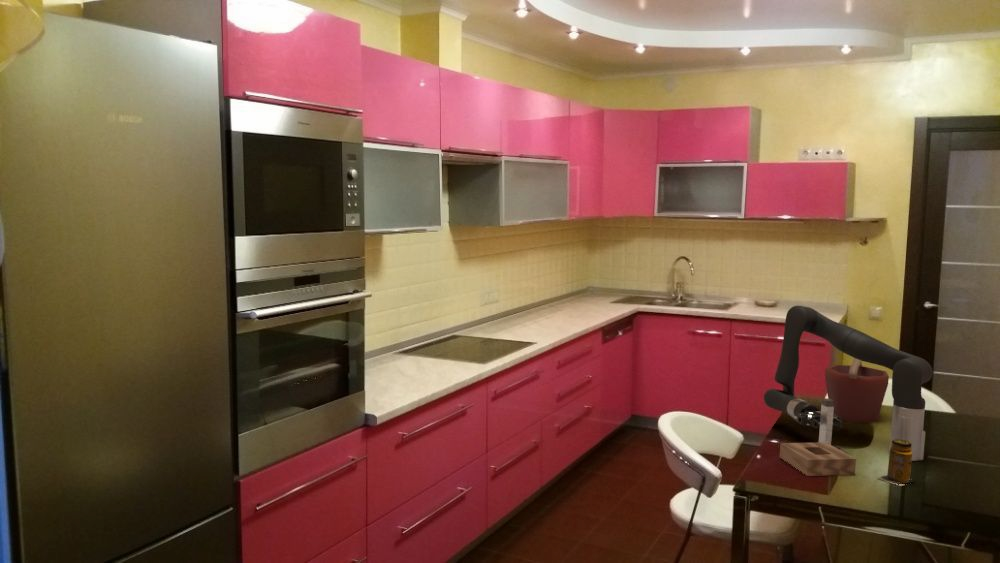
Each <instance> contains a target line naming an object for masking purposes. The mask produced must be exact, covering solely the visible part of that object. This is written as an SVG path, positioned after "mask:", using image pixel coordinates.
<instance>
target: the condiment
mask: <svg viewBox="0 0 1000 563" xmlns="http://www.w3.org/2000/svg"><path fill="white" fill-rule="evenodd" d="M911 446H912V443H911V442H909V441H906V440H901V439H894V440H893V441H892V446H891V449H890V453H889V452H888V454H889V455H888V465H887V466H888V467H887V475H882V476H879V477H877V479H879V480H881V481H884V482H887V483H890V484H893V485H895V484H896V486H899V487H902V486H903V487H904V486H906V485H905V484H899V485H898V484H897V483H893V481H895V482H900V483H908V482H909V480H910V479H911V471H912V470H911V469H912V463H913V461H912V452H911V449H912V448H911Z"/></svg>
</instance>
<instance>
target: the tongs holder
mask: <svg viewBox="0 0 1000 563" xmlns="http://www.w3.org/2000/svg"><path fill="white" fill-rule="evenodd" d="M779 444H780V445H779V459H780V458H781V459H783V460H784V461H783V460H782V461H783V462H785V461H786V462H788V463H789V464H791V465H792V466H793V468H794V467H795V468H796V469H795V468H794V469H795V470H797V469H798V470H799V471H798V470H797V471H798V472H800V471H801V472H802V474H803V475H804V474H805V476H807V477H814V476H817V477H818V476H819V477H820V476H823V477H824V476H852V475H856V466H857V465H856V464H857V458H855V457H854V456H851V455H850V454H848V453H847V452H844V451H843V450H841V449H838V448H837V447H836V446H833V445H832V444H831V445H830V444H828V443H826V442H820V443H817V442H780V443H779ZM781 459H780V460H781ZM786 462H785V463H786ZM788 463H787V464H788ZM789 464H788V465H789ZM791 465H790V466H791ZM792 466H791V467H792ZM801 472H800V473H801Z"/></svg>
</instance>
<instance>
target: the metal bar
mask: <svg viewBox="0 0 1000 563" xmlns="http://www.w3.org/2000/svg"><path fill="white" fill-rule="evenodd" d="M832 406H833V400H831V399H828V398H823V399H822V404H821V407H820V412H821V417H820V424H819V432H818V434H819V435H818V441H817V442H816V443H820V442H826V443H828V444H830V445H832V435H833V411H834V407H832Z"/></svg>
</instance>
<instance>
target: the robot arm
mask: <svg viewBox="0 0 1000 563" xmlns="http://www.w3.org/2000/svg"><path fill="white" fill-rule="evenodd" d="M784 323H785V324H784V332H783V339H782V345H781V352H780V357H779V360H778V364H777V368H776V371H775V375H774V382H776V383H778V384H780V385H782V389H776V388H770V389H767V390H766V391H765V392H764V394H763V401H764V404H765V405H766V406H767V407H768V408H771V409H773V410H776V411H778V412H779V411H780V412H782V413H784V414H785V415H788V416H790V417H791V418H792V419H793V421H795V422H797V423H799V424H800V425H801V426H805V425H806V426H811V427H813V428H815V429H819V427H820V417H821V410H819V408H818V406H816V405H815V404H813V403H811V402H809V401H807V400H804V399H801V398H799V397H797V396H795V381H796V377H797V373H798V370H799V367H800V366H799V365H800V341H801V338H802V335H803V333H804V332H805V333H809V334H811V335H814V336H817V337H820V338H822V339H825V340H826V341H827V342H828V343H830V344H831V345H832V346H833V347H834V348H836V349H837V350H838V351H839V352H842V353H844V354H845V355H847V356H849V357H852V358H853V359H854V358H856V359H858V360H861V362H865V363H869V364H873V365H876V366H880V367H884V368H887V369H888V370H891V371H892V374H891V375H892V376H891V378H892V379H891V397H892V399H893V402H892V403H893V405H892V414H891V427H890V439H889V447H888V450H889V451H888V454H889V453H890V449H891V446H892V441H893V440H894V439H901V440H906V441H909V442H911V443H912V446H911V448H912V449H911V452H912V462H913V461H914V462H915V461H923V460H924V455H925V454H924V452H925V443H926V431H925V430H924V421H925V410H926V399H925V398H924V397H923V395H922V387H923V386H922V385H923V384H926V383H927V382H929V381H930V380H931V379H932V377H933V372H934V371H933V368H932V366H931V364H930V363H929V362H928V361H927V360H926V359H924V358H922V357H920V356H916V355H914V354H911V353H908V352H905V351H903V350H899V349H897V348H894V347H892V346H890V345H889V344H887V343H885V342H883V341H881V340H879V339H877V338H875V337H872V336H871V335H868V334H867V333H865V332H863V331H860V330H858V329H856V328H853V327H851V326H849V325H846V324H843V323H839V322H837V321H835V320H832V319H830V318H829V317H827V316H826V315H824V314H822V313H821V312H819V311H817V310H815V309H814V308H812V307H809V306H805V305H794V306H792V307H790V308H788V310H787V312H786V316H785V320H784ZM833 425H834V426H835V427H837V428H841V429H842V428H843V425H844V424H843V420H841V417H840V416H838V415H835V414H833ZM833 425H832V426H833Z"/></svg>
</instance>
